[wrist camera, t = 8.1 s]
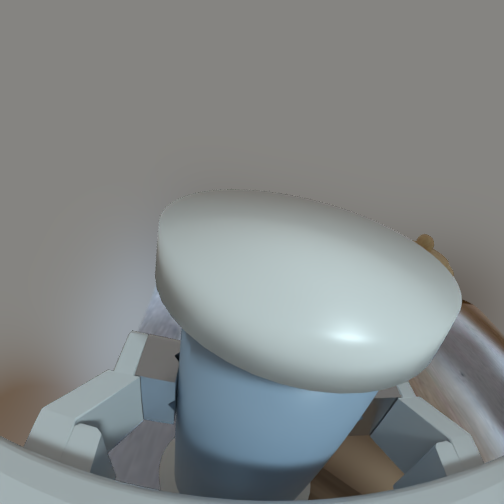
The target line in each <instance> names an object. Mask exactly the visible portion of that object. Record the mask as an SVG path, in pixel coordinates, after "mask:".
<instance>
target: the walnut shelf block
mask: <svg viewBox="0 0 504 504" xmlns="http://www.w3.org/2000/svg"><path fill="white" fill-rule="evenodd" d="M403 475H404V473H403V472H402V471H401V470H400V469H399V468H398V467H397V466H396V464H395V463H394V462H393V461H392V460H391V459H390V458H389V457H388V456H387V455H386V454H385V453H384V451H383V450H382V449H381V448H380V447H379V446H378V445H377V444H376V443H375V442H374V440H373V439H372V438H371V437H370V435H363V436H347V437H346V438H345V440H344V441H343V442H342V444H341V445H340V446H339V448H338V449H337V450H336V452H335V453H334V454H333V455H332V457H331V458H330V459H329V460H328V462H327V463H326V464H325V465H324V466H323V468H322V469H321V470H320V471H319V473H318V474H317V475H316V476H315V477H314V478H313V480H312V481H311V482H310V494H309V498H308V500H317V499H330V498H340V497H349V496H357V495H364V494H371V493H377V492H383V491H388V490H393V489H394V488H393V485H394V484H395V482H396V481H398V480H399V479H400V478H401V477H402V476H403Z"/></svg>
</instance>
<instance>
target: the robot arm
mask: <svg viewBox="0 0 504 504" xmlns="http://www.w3.org/2000/svg"><path fill="white" fill-rule="evenodd" d="M180 342H181V340H176V339H171V338H166V337H161V336H156V335H152V334H150V335H149V334H146V333H141V332H137V331H131V332H130V334H129V335H128V338H127V340H126V342H125V344H124V347H123V349H122V351H121V354H120V356H119V359H118V361H117V363H116V366H115V368H114V370H107V371H105V372H103V373H102V374H100V375H98V376H96V377H95V378H93V379H91V380H90V381H88V382H86V383H85V384H83V385H81V386H79V387H78V388H76V389H74V390H73V391H71V392H69V393H68V394H66V395H64V396H62V397H60V398H59V399H57V400H55V401H54V402H52V403H50V404H48V405H46V406H45V407H43V408H42V409H41V411H40V413H39V415H38V417H37V420H36V421H35V424H34V425H33V428H32V430H31V432H30V434H29V436H28V438H27V440H26V443H25V445H24V447H22V446H20V445H18V444H16V443H14V442H11V441H9V440H7V439H5V438H4V437H2V436H0V504H504V456H502V457H499V458H497V459H495V460H492V461H490V462H487V463H484V461H483V459H482V457H481V455H480V453H479V451H478V449H477V447H476V445H475V443H474V441H473V439H472V437H471V435H470V434H469V433H468V432H466V431H465V430H464V429H462V428H461V427H460V426H458V425H457V424H456V423H454V422H453V421H452V420H450V419H449V418H447V417H446V416H445V415H443V414H442V413H441V412H439V411H438V410H437V409H435V408H434V407H433V406H431V405H430V404H429V403H427V402H426V401H425V400H423V399H422V398H421V397H416V396H415V394H414V392H413V390H412V388H411V386H410V384H409V382H408V381H406V382H405V383H402V384H399V385H396V386H394V387H391V388H388V389H384V390H379V391H378V392H377V394H376V395H375V397H374V398H373V400H372V401H371V403H370V404H369V406H368V407H367V409H366V410H365V412H364V413H363V415H362V416H361V418H360V419H359V420H358V422H357V423H356V425H355V426H354V427H353V429H352V430H351V432H350V433H349V434H348V436H363V435H370V437H371V438H372V439H373V440H374V442H375V443H376V444H377V445H378V446H379V447H380V448H381V449H382V450H383V451H384V453H385V454H386V455H387V456H388V457H389V458H390V459H391V460H392V461H393V462H394V463H395V464H396V466H397V467H398V468H399V469H400V470H401V471H402V472H403V473H404V475H403V476H402V477H401V478H400V479H399V480H398V481H396V482H395V484H394V485H393V488H394V489H393V490H388V491H383V492H377V493H371V494H364V495H357V496H349V497H340V498H330V499H317V500H297V501H254V500H234V499H221V498H211V497H202V496H194V495H186V494H180V493H173V492H168V491H162V490H157V489H152V488H147V487H142V486H138V485H133V484H129V483H125V482H121V481H117V480H115V478H116V475H115V472H114V470H113V467H112V464H111V461H110V458H109V456H108V452H109V451H110V450H111V449H113V448H114V447H115V446H116V445H117V444H118V443H119V442H120V441H122V440H123V439H124V438H125V437H126V436H127V435H128V434H129V433H131V432H132V431H133V430H134V429H135V428H136V427H137V426H138V425H139V424H140V423H142V422H143V419H145V420H150V421H156V422H162V423H168V424H174V420H175V414H176V409H177V386H178V373H179V356H180Z"/></svg>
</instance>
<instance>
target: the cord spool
mask: <svg viewBox="0 0 504 504" xmlns="http://www.w3.org/2000/svg"><path fill="white" fill-rule="evenodd" d="M155 279H156V286H157V290H158V292H159V295H160V298H161V300H162V302H163V304H164V305H165V307H166V309H167V310H168V312H169V313H170V315H171V316H172V317H173V319H174V320H175V321H176V322H177V323H178V324H179V325H180V326H181V328H182V330H181V342H180V356H179V373H178V386H177V409H176V429H175V437H174V438H173V440H172V441H171V442H170V443H169V444H168V446H167V447H166V449H165V451H164V453H163V455H162V458H161V461H160V466H159V483H160V490H162V491H168V492H173V493H180V494H186V495H194V496H202V497H211V498H221V499H234V500H254V501H297V500H308V498H309V494H310V482H311V481H312V480H313V478H314V477H315V476H316V475H317V474H318V473H319V471H320V470H321V469H322V468H323V466H324V465H325V464H326V463H327V462H328V460H329V459H330V458H331V457H332V455H333V454H334V453H335V452H336V450H337V449H338V448H339V446H340V445H341V444H342V442H343V441H344V440H345V438H346V437H347V436H348V434H349V433H350V432H351V430H352V429H353V427H354V426H355V425H356V423H357V422H358V420H359V419H360V418H361V416H362V415H363V413H364V412H365V410H366V409H367V407H368V406H369V404H370V403H371V401H372V400H373V398H374V397H375V395H376V394H377V392H378V391H379V390H384V389H388V388H391V387H394V386H396V385H399V384H402V383H405V382H406V381H408V380H410V379H412V378H413V377H415V376H417V375H418V374H419V373H420V372H422V371H423V370H424V369H425V368H426V367H427V366H428V365H429V363H430V362H431V360H432V359H433V357H434V356H435V354H436V353H437V351H438V349H439V348H440V346H441V344H442V343H443V341H444V339H445V337H446V336H447V334H448V332H449V330H450V328H451V327H452V325H453V323H454V321H455V319H456V317H457V315H458V313H459V312H460V309H461V304H462V297H461V292H460V289H459V286H458V284H457V282H456V280H455V279H454V277H453V276H452V274H451V273H450V272H449V271H448V269H447V268H446V267H445V266H444V265H443V264H442V263H441V262H440V261H439V260H438V259H437V258H435V257H434V256H433V255H432V254H431V253H429V252H428V251H427V250H426V249H424V248H423V247H421V246H420V245H418V244H417V243H415V242H414V241H412V240H411V239H409V238H407V237H406V236H404V235H402V234H401V233H399V232H397V231H395V230H393V229H391V228H389V227H387V226H385V225H383V224H381V223H379V222H376V221H374V220H372V219H369V218H367V217H365V216H362V215H359V214H357V213H354V212H351V211H349V210H346V209H343V208H340V207H337V206H333V205H330V204H326V203H323V202H319V201H315V200H311V199H307V198H302V197H298V196H293V195H287V194H282V193H274V192H267V191H257V190H239V189H227V190H213V191H204V192H198V193H194V194H191V195H187V196H184V197H182V198H180V199H177V200H175V201H174V202H172V203H170V204H169V205H168V206H167V207H166V208H165V209H164V210H163V212H162V214H161V215H160V220H159V228H158V241H157V254H156V271H155Z"/></svg>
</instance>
